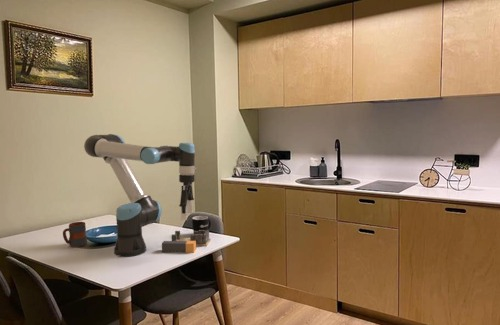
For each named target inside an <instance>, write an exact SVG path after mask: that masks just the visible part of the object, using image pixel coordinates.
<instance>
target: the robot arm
mask: <svg viewBox="0 0 500 325" xmlns="http://www.w3.org/2000/svg"><path fill="white" fill-rule="evenodd" d="M83 148H84V151H85V153H86V154H87V155H88V156H90V157H92V158H102V159H103V160H104V163H106V164H109V166H110V167H111V169H112V171H113V172H114V174H115V176H116V178H117V180H118V181H119V184H120V185H121V187H122V189H123V190H124V192H125V194H126V195H127V198H128V199H129V201H130V202H129V203H123V204H122V205H120V206H118V207H117V208H116V214H115V217H116V218H115V219H116V233H117V237H116V238H117V239H116V241H115V245H114V248H113V250H114V251H113V252H114V253H113V254H114V255H115V256H118V257H134V256H138V255H141V254H144V253H145V252H146V251H147V244H146V242H145V240H144V237H143V227H145V226H148V225H152V224H154V223H155V222H157V221H158V220H159V219H160V218H161V215H162V211H163V210H162V206H161V204H160V203H159V202H158V201H157V200H154V199H152V197H151V195H150V194H147V193H146V192H145V191H144V189H143V186H142V185H141V183H140V181H139V179H138V178H137V176H136V174H135V173H134V171H133V169H132V167H131V165H130V162H128V160H131V161H136V162H137V161H138V162H143V163H144V164H146V165H155V164H159V163H166V162H167V163H168V162H178V177H179V178H178V181H179V182H180V183H182V184H183V185H181V190H180V191H181V193H180V201H179V203H180V204H179V205H178V207H180V220H182V221H187V220H188V214H192V213H193V201H194V200H195V198H194V194H193V183H194V182H195V170H197V167H195V156H196V155H195V153H196V151H195V144H194V143H193V142H180V143H179V145H178V146H174V145H173V146H172V145H161V146H158V147H157V146H148V145H147V146H146V145H137V144H131V143H126V142H125V140H124V139H123V137H122V136H120V135H118V134H112V133H109V134H94V135H90V136H88V137H87V138H86V140H85V141H84V145H83Z"/></svg>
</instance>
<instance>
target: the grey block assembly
mask: <svg viewBox="0 0 500 325" xmlns="http://www.w3.org/2000/svg"><path fill="white" fill-rule="evenodd" d="M174 233H175V234H171V235H170V236H171V241H196V247H208V245H209V244H210V242H211V238H210V230H209V229H208V230H206V232H205V230H199V234H198V231H193V234H190V235H189V236H190V237H189V238H187V237H186V238H185V237H184V238H181V230H175V231H174Z"/></svg>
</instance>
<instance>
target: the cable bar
mask: <svg viewBox="0 0 500 325" xmlns="http://www.w3.org/2000/svg"><path fill="white" fill-rule="evenodd" d="M196 250H197V246H196V241H172V240H164V241H162V242H161V252H162V253H185V254H190V253H191V254H194V253H195V252H196Z"/></svg>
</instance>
